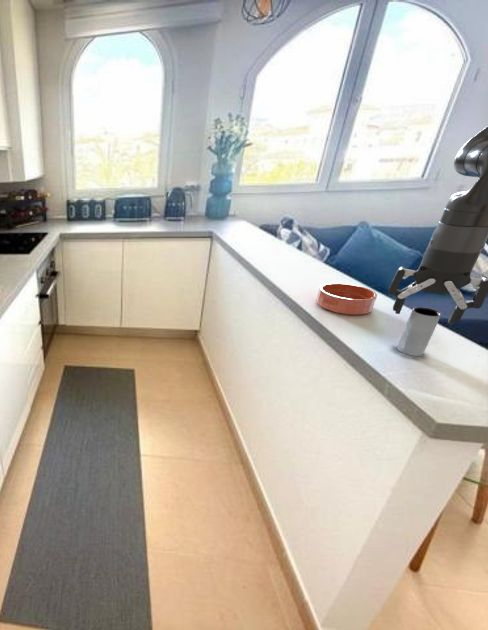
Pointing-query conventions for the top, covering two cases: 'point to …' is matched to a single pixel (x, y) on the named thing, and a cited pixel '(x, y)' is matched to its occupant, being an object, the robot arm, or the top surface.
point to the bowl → (346, 298)
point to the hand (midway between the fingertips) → (422, 317)
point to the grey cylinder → (418, 331)
